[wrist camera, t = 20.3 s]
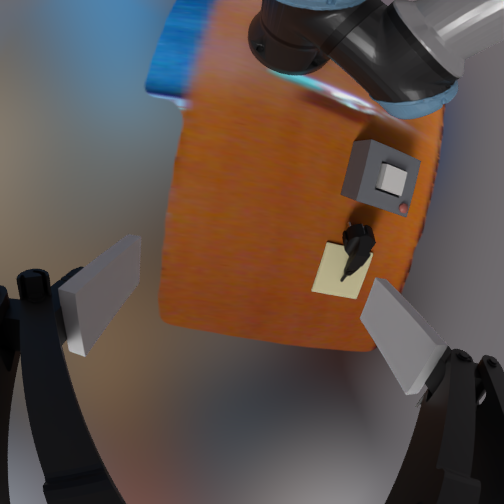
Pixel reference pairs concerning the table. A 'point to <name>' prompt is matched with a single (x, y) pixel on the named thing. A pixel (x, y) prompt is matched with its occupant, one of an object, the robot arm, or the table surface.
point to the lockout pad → (338, 273)
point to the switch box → (366, 174)
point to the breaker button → (391, 179)
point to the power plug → (357, 247)
